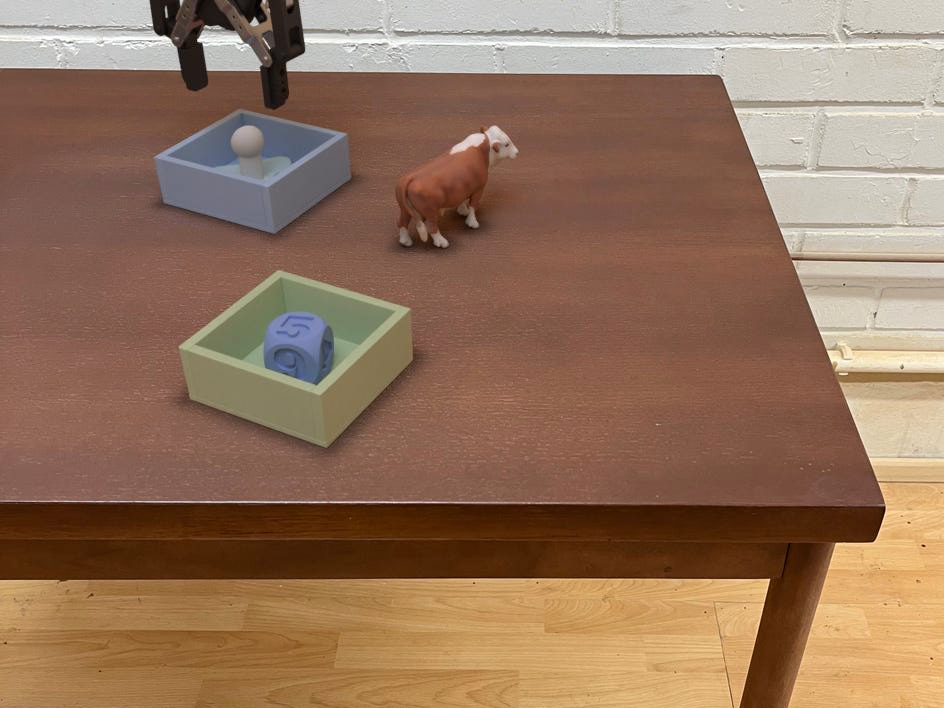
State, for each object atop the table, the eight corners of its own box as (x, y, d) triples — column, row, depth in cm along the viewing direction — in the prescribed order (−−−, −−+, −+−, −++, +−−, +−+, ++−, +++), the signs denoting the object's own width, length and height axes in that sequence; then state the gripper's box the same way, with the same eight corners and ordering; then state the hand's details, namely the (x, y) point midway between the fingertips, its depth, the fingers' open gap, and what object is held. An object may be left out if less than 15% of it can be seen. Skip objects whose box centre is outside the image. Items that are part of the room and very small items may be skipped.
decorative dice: (336, 359, 74) (331, 313, 71) (322, 392, 71) (316, 345, 69) (283, 354, 75) (277, 308, 72) (267, 386, 72) (259, 339, 69)
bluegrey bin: (163, 203, 93) (153, 156, 90) (246, 152, 102) (239, 108, 99) (274, 234, 89) (267, 186, 86) (351, 178, 98) (347, 133, 95)
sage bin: (189, 399, 71) (177, 346, 68) (285, 319, 79) (278, 269, 76) (326, 448, 67) (320, 395, 64) (413, 359, 75) (411, 308, 72)
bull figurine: (523, 213, 93) (527, 126, 87) (416, 265, 85) (412, 174, 80) (489, 197, 95) (491, 111, 89) (382, 246, 88) (376, 157, 82)
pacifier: (206, 180, 96) (221, 205, 92) (194, 115, 92) (209, 138, 88) (281, 167, 98) (299, 191, 94) (272, 103, 94) (290, 124, 90)
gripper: (310, -110, 78) (327, 99, 89) (167, -131, 83) (199, 69, 94) (251, -90, 73) (276, 128, 84) (102, -114, 78) (144, 95, 89)
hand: (236, 97), depth 89 cm, fingers open, 8 cm apart
